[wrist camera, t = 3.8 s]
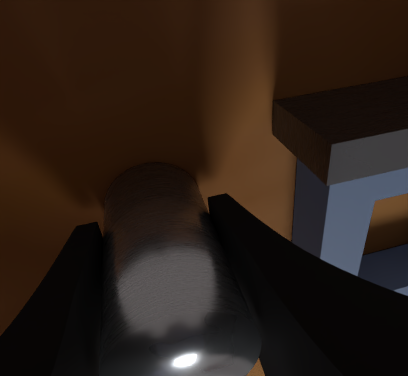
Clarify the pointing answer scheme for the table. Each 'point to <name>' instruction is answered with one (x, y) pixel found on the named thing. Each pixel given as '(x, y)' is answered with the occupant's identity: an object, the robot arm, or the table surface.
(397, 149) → the mount bracket
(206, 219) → the grey metal cylinder
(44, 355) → the robot arm
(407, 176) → the socket
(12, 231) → the table surface
